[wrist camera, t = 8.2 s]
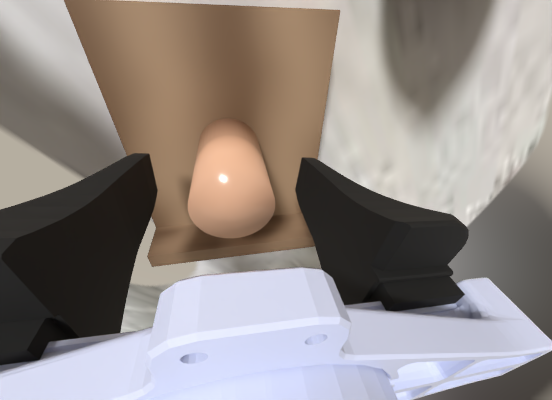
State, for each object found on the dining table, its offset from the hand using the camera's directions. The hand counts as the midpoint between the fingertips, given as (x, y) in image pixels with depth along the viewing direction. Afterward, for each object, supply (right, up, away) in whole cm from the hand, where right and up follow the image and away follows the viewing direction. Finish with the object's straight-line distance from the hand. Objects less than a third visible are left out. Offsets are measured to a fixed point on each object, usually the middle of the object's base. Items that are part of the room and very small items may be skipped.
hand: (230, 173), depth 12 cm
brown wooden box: (-1, +3, +4) cm, 5 cm away
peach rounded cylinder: (0, +2, +2) cm, 3 cm away
